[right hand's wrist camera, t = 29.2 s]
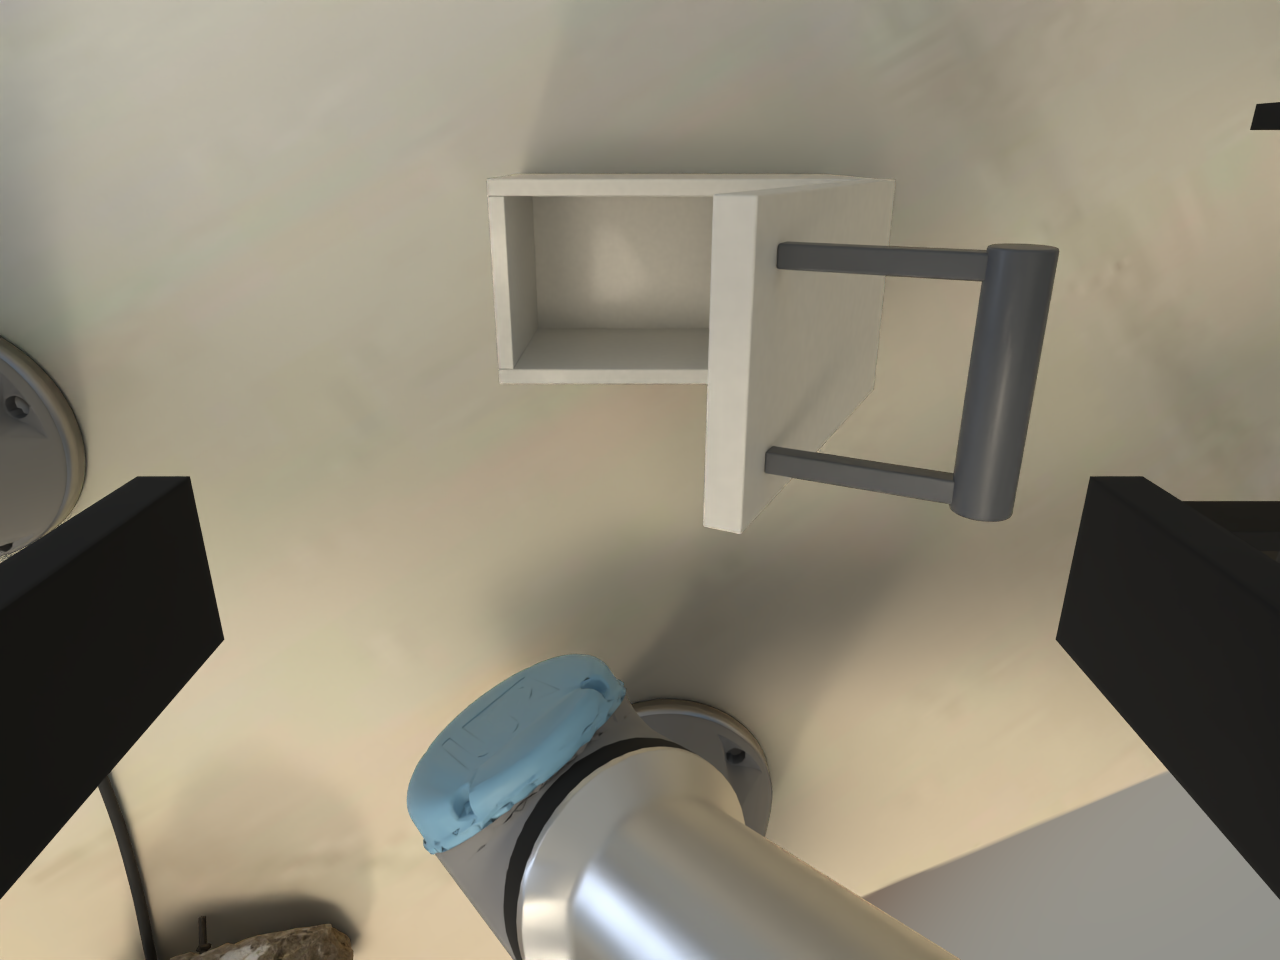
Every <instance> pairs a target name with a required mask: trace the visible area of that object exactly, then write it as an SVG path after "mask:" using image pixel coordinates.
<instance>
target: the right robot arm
mask: <svg viewBox="0 0 1280 960" xmlns="http://www.w3.org/2000/svg"><path fill="white" fill-rule="evenodd" d="M84 476H85V452H84V445H83V440H82V436H81V432H80V429H79V426H78V423H77V421H76V419H75V416H74V414H73V412H72V410H71V408H70V406H69V404H68V403H67V401H66V399H65V398H64V396H63V395H62V393H61V392H60V390H59V389H58V387H57V386H56V385H55V384H54V382H53V381H52V380H51V378H50V377H49V376H48V375H47V374H46V373H45V372H44V371H43V370H42V369H41V368H40V367H39V366H38V365H37V364H36V363H35V362H34V361H33V360H32V359H31V358H30V357H28V356H27V355H26V354H25V353H23V352H22V351H21V350H20V349H18V348H17V347H15V346H14V345H12V344H11V343H10V342H8V341H6V340H5V339H3V338H1V337H0V556H2V555H5V554H9V553H12V552H15V551H17V550H20V549H22V548H24V547H25V548H24V549H22V550H21V551H19V552H18V553H16V554H14V555H13V556H11V557H10V558H8V559H7V560H5V561H3V562H2V563H0V899H1V898H2V897H3V896H4V895H5V893H6V892H7V891H8V890H9V889H10V888H11V886H12V885H13V884H14V883H15V882H16V881H17V879H18V878H19V877H20V876H21V875H22V874H23V873H24V871H25V870H26V869H27V868H28V867H29V866H30V864H31V863H32V862H33V861H34V860H35V859H36V857H37V856H38V855H39V854H40V853H41V852H42V850H43V849H44V848H45V847H46V846H47V845H48V843H49V842H50V841H51V840H52V839H53V838H54V837H55V835H56V834H57V833H58V832H59V831H60V830H61V828H62V827H63V826H64V825H65V824H66V823H67V821H68V820H69V819H70V818H71V817H72V816H73V814H74V813H75V812H76V811H77V810H78V809H79V807H80V806H81V805H82V804H83V803H84V802H85V801H86V799H87V798H88V797H89V796H90V795H91V794H92V792H93V791H94V790H95V789H96V788H97V787H98V788H99V790H100V793H101V795H102V798H103V801H104V803H105V806H106V809H107V811H108V814H109V817H110V820H111V823H112V826H113V829H114V832H115V835H116V838H117V841H118V845H119V848H120V852H121V855H122V859H123V862H124V866H125V870H126V874H127V877H128V881H129V885H130V889H131V893H132V897H133V901H134V906H135V910H136V915H137V920H138V925H139V930H140V935H141V940H142V945H143V949H144V954H145V958H146V960H157V955H156V950H155V946H154V941H153V936H152V931H151V926H150V921H149V916H148V910H147V906H146V901H145V896H144V892H143V888H142V883H141V879H140V876H139V872H138V868H137V864H136V860H135V856H134V853H133V849H132V845H131V842H130V838H129V835H128V832H127V828H126V825H125V822H124V819H123V816H122V813H121V810H120V807H119V805H118V802H117V799H116V796H115V794H114V791H113V788H112V786H111V783H110V781H109V778H108V774H109V773H110V772H111V770H112V769H113V768H114V767H115V766H116V765H117V763H118V762H119V761H120V760H121V759H122V758H123V756H124V755H125V754H126V753H127V752H128V751H129V749H130V748H131V747H132V746H133V745H134V744H135V742H136V741H137V740H138V739H139V738H140V737H141V736H142V734H143V733H144V732H145V731H146V730H147V729H148V727H149V726H150V725H151V724H152V723H153V722H154V720H155V719H156V718H157V717H158V716H159V715H160V713H161V712H162V711H163V710H164V709H165V708H166V707H167V705H168V704H169V703H170V702H171V701H172V700H173V698H174V697H175V696H176V695H177V694H178V693H179V691H180V690H181V689H182V688H183V687H184V686H185V684H186V683H187V682H188V681H189V680H190V679H191V677H192V676H193V675H194V674H195V673H196V672H197V671H198V669H199V668H200V667H201V666H202V665H203V664H204V662H205V661H206V660H207V659H208V658H209V657H210V655H211V654H212V653H213V652H214V651H215V650H216V648H217V647H218V646H219V645H220V644H221V643H222V642H223V640H224V636H223V631H222V626H221V622H220V617H219V612H218V608H217V603H216V598H215V593H214V589H213V584H212V579H211V575H210V570H209V565H208V560H207V556H206V551H205V546H204V541H203V537H202V532H201V527H200V523H199V518H198V513H197V508H196V504H195V499H194V494H193V489H192V485H191V480H190V476H137V477H136V478H134V479H132V480H131V481H129V482H128V483H126V484H125V485H123V486H121V487H120V488H118V489H117V490H115V491H114V492H112V493H110V494H109V495H107V496H106V497H104V498H103V499H101V500H99V501H98V502H96V503H95V504H93V505H92V506H90V507H88V508H87V509H85V510H84V511H82V512H81V513H79V514H77V515H76V516H74V517H73V518H71V519H70V520H68V521H66V522H65V523H63V524H62V525H60V526H59V527H57V526H58V525H59V524H60V523H61V522H63V521H64V519H65V518H66V517H67V516H68V515H69V514H70V512H71V511H72V509H73V508H74V506H75V504H76V502H77V500H78V498H79V496H80V493H81V490H82V486H83V482H84ZM56 527H57V528H56ZM54 528H55V529H54ZM53 529H54V530H53ZM50 531H51V532H50ZM47 533H48V534H47ZM42 536H43V537H42ZM39 538H40V539H39ZM36 540H37V541H36ZM31 543H32V544H31ZM28 545H29V546H28ZM26 546H27V547H26ZM1056 640H1057V642H1058V643H1059V644H1060V645H1061V646H1062V647H1063V648H1064V650H1065V651H1066V652H1067V653H1068V654H1069V655H1070V657H1071V658H1072V659H1073V660H1074V661H1075V662H1076V664H1077V665H1078V666H1079V667H1080V668H1081V669H1082V671H1083V672H1084V673H1085V674H1086V675H1087V676H1088V677H1089V679H1090V680H1091V681H1092V682H1093V683H1094V684H1095V686H1096V687H1097V688H1098V689H1099V690H1100V691H1101V693H1102V694H1103V695H1104V696H1105V697H1106V698H1107V700H1108V701H1109V702H1110V703H1111V704H1112V705H1113V707H1114V708H1115V709H1116V710H1117V711H1118V712H1119V713H1120V715H1121V716H1122V717H1123V718H1124V719H1125V720H1126V722H1127V723H1128V724H1129V725H1130V726H1131V727H1132V729H1133V730H1134V731H1135V732H1136V733H1137V734H1138V736H1139V737H1140V738H1141V739H1142V740H1143V741H1144V742H1145V744H1146V745H1147V746H1148V747H1149V748H1150V749H1151V751H1152V752H1153V753H1154V754H1155V755H1156V756H1157V758H1158V759H1159V760H1160V761H1161V762H1162V763H1163V765H1164V766H1165V767H1166V768H1167V769H1168V770H1169V772H1170V773H1171V774H1172V775H1173V776H1174V777H1175V778H1176V780H1177V781H1178V782H1179V783H1180V784H1181V785H1182V787H1183V788H1184V789H1185V790H1186V791H1187V792H1188V794H1189V795H1190V796H1191V797H1192V798H1193V799H1194V800H1195V802H1196V803H1197V804H1198V805H1199V806H1200V808H1201V809H1202V810H1203V811H1204V812H1205V813H1206V814H1207V816H1208V817H1209V818H1210V819H1211V820H1212V821H1213V823H1214V824H1215V825H1216V826H1217V827H1218V828H1219V830H1220V831H1221V832H1222V833H1223V834H1224V835H1225V837H1226V838H1227V839H1228V840H1229V841H1230V842H1231V843H1232V845H1233V846H1234V847H1235V848H1236V849H1237V850H1238V852H1239V853H1240V854H1241V855H1242V856H1243V857H1244V859H1245V860H1246V861H1247V862H1248V863H1249V864H1250V866H1251V867H1252V868H1253V869H1254V870H1255V871H1256V873H1257V874H1258V875H1259V876H1260V877H1261V878H1262V879H1263V881H1264V882H1265V883H1266V884H1267V885H1268V886H1269V888H1270V889H1271V890H1272V891H1273V892H1274V893H1275V895H1276V896H1277V897H1278V898H1279V899H1280V563H1278V562H1277V561H1275V560H1273V559H1272V558H1270V557H1269V556H1267V555H1266V554H1264V553H1262V552H1261V551H1259V550H1258V549H1256V548H1255V547H1253V546H1251V545H1250V544H1248V543H1247V542H1245V541H1243V540H1242V539H1240V538H1239V537H1237V536H1236V535H1234V534H1232V533H1231V532H1229V531H1228V530H1226V529H1225V528H1223V527H1221V526H1220V525H1218V524H1217V523H1215V522H1214V521H1212V520H1210V519H1209V518H1207V517H1206V516H1204V515H1203V514H1201V513H1199V512H1198V511H1196V510H1195V509H1193V508H1192V507H1190V506H1188V505H1187V504H1185V503H1184V502H1182V501H1181V500H1179V499H1177V498H1176V497H1174V496H1173V495H1171V494H1170V493H1168V492H1166V491H1165V490H1163V489H1162V488H1160V487H1159V486H1157V485H1155V484H1154V483H1152V482H1151V481H1149V480H1148V479H1146V478H1144V477H1143V476H1090V480H1089V485H1088V489H1087V494H1086V499H1085V504H1084V508H1083V513H1082V518H1081V523H1080V527H1079V532H1078V537H1077V541H1076V546H1075V551H1074V556H1073V560H1072V565H1071V570H1070V575H1069V579H1068V584H1067V589H1066V593H1065V598H1064V603H1063V608H1062V612H1061V617H1060V622H1059V626H1058V631H1057V636H1056Z"/></svg>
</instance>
